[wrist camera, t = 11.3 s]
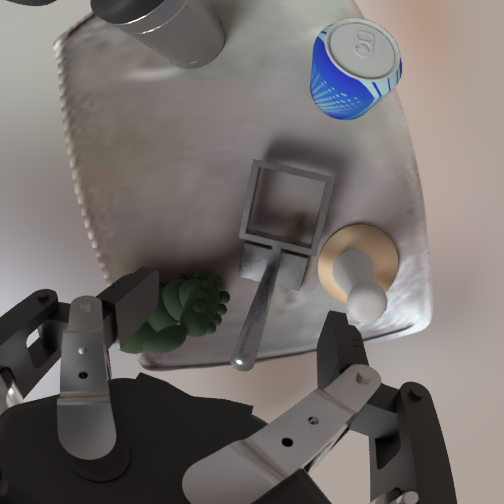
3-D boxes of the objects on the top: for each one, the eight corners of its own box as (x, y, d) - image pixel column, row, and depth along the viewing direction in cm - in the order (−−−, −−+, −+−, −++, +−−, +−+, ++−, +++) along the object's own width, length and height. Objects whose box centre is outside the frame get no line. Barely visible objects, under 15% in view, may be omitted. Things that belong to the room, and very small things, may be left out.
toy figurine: (218, 243, 43) (105, 298, 48) (176, 291, 25) (43, 348, 29) (245, 296, 45) (131, 340, 50) (225, 370, 27) (80, 400, 31)
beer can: (382, 101, 31) (427, 65, 16) (337, 133, 34) (361, 109, 19) (342, 56, 30) (362, -2, 15) (297, 86, 33) (292, 36, 18)
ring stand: (258, 160, 37) (203, 150, 16) (331, 177, 36) (371, 188, 15) (236, 272, 42) (177, 366, 21) (302, 289, 41) (297, 398, 20)
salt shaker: (343, 237, 37) (361, 270, 25) (377, 255, 37) (407, 295, 25) (323, 273, 39) (330, 319, 27) (356, 290, 39) (375, 340, 27)
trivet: (330, 214, 37) (330, 215, 37) (407, 236, 36) (408, 237, 35) (308, 293, 41) (308, 295, 40) (380, 310, 40) (381, 311, 39)
